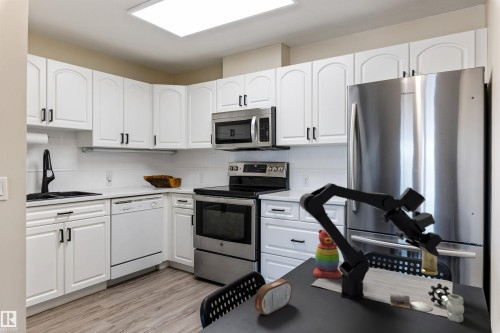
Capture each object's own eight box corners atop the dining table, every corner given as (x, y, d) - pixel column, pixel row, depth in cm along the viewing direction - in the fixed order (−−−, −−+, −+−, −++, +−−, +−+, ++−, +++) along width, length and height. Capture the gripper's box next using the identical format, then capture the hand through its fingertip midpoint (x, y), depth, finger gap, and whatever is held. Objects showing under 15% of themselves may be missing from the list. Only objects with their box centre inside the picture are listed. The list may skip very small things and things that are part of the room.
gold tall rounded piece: (422, 274, 107) (422, 236, 107) (420, 269, 112) (420, 232, 111) (439, 276, 105) (439, 237, 105) (435, 271, 110) (436, 234, 110)
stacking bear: (313, 277, 123) (313, 231, 122) (313, 268, 132) (313, 226, 132) (341, 279, 120) (342, 233, 120) (340, 270, 130) (340, 227, 130)
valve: (471, 323, 88) (450, 304, 100) (471, 300, 88) (450, 283, 100) (446, 322, 89) (427, 303, 101) (446, 299, 89) (427, 282, 101)
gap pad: (411, 309, 96) (411, 308, 96) (408, 301, 102) (408, 300, 102) (433, 312, 94) (433, 312, 94) (430, 304, 100) (430, 303, 100)
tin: (286, 300, 103) (286, 274, 102) (293, 303, 100) (293, 277, 100) (253, 316, 92) (253, 287, 92) (261, 320, 90) (261, 291, 90)
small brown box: (390, 305, 99) (390, 296, 99) (389, 299, 103) (389, 290, 103) (410, 308, 97) (410, 299, 97) (408, 301, 101) (408, 293, 101)
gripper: (436, 209, 98) (470, 243, 99) (403, 201, 117) (432, 230, 118) (412, 234, 98) (445, 269, 99) (383, 222, 117) (411, 252, 118)
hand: (433, 253), depth 108 cm, fingers closed on gold tall rounded piece, 4 cm apart
